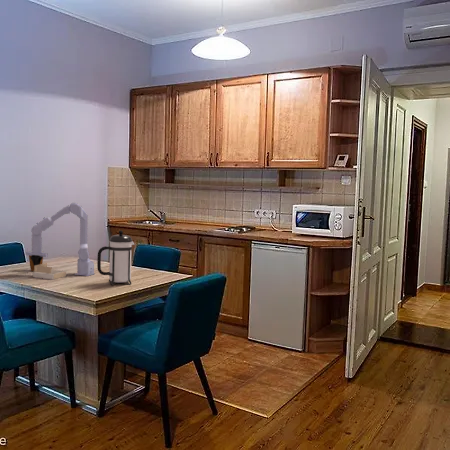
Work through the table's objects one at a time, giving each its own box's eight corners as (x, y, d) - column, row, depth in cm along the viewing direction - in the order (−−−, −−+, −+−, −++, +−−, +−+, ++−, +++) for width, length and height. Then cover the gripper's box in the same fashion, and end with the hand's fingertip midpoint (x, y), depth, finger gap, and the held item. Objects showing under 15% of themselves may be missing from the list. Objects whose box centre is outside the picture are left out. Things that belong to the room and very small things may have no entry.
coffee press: (117, 279, 286) (118, 228, 284) (138, 282, 278) (140, 230, 275) (96, 283, 271) (97, 230, 269) (117, 287, 263) (118, 232, 261)
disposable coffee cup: (38, 272, 298) (38, 253, 297) (24, 271, 300) (24, 252, 299) (47, 269, 307) (47, 251, 306) (33, 268, 309) (33, 250, 308)
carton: (66, 276, 289) (66, 271, 289) (53, 279, 278) (53, 274, 278) (47, 274, 294) (47, 269, 294) (32, 277, 282) (32, 272, 282)
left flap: (52, 267, 280) (51, 267, 280) (50, 273, 279) (50, 273, 279) (37, 265, 283) (37, 265, 283) (36, 271, 282) (36, 271, 282)
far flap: (47, 263, 292) (46, 263, 292) (34, 265, 282) (34, 265, 282) (46, 268, 293) (46, 268, 293) (34, 271, 283) (34, 271, 283)
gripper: (21, 245, 286) (21, 268, 287) (42, 247, 281) (42, 270, 282) (30, 244, 293) (30, 266, 294) (50, 245, 288) (50, 268, 289)
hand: (36, 268), depth 289 cm, fingers closed
